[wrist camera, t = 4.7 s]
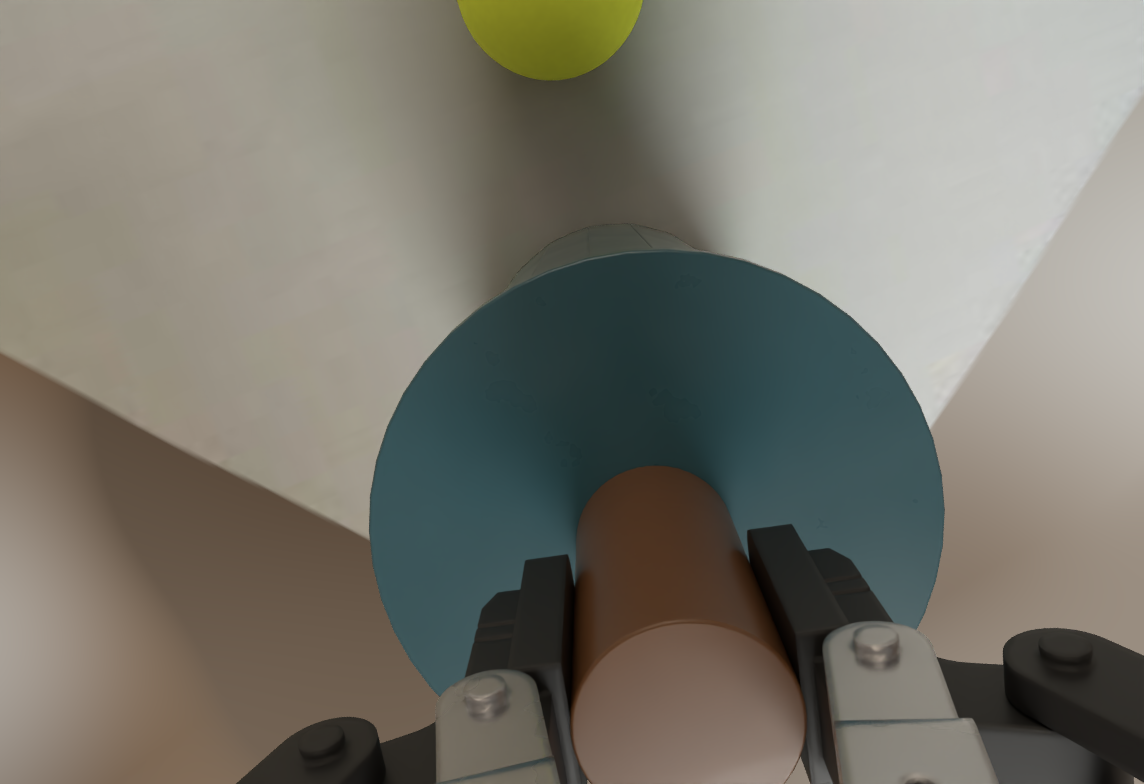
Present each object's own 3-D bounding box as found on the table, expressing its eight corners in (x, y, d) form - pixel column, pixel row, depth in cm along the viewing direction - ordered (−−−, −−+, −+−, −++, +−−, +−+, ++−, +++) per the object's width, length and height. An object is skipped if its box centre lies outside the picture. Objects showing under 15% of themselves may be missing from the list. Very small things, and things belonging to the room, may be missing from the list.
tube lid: (557, 131, 16) (534, 99, 10) (1037, 431, 18) (1327, 597, 11) (288, 598, 19) (113, 845, 12) (727, 836, 20) (800, 1188, 13)
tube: (575, 174, 35) (568, 172, 20) (790, 308, 36) (925, 394, 21) (449, 389, 37) (362, 523, 22) (655, 509, 38) (697, 710, 23)
